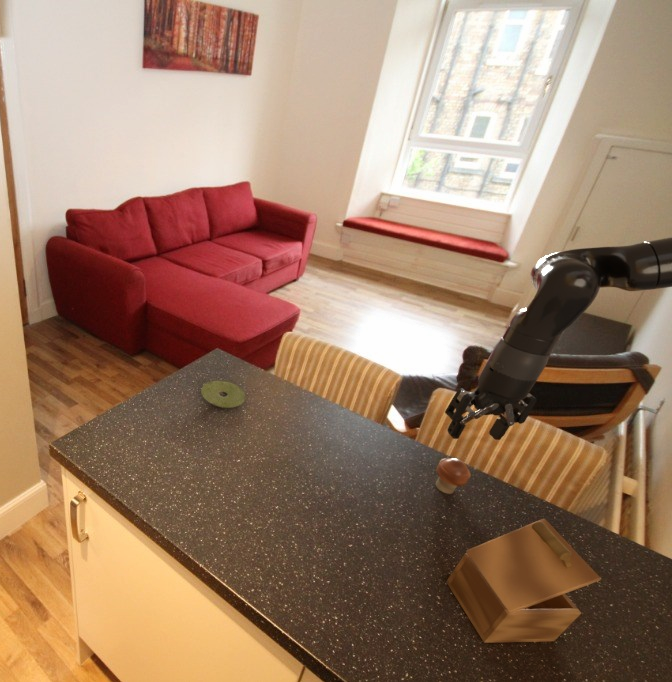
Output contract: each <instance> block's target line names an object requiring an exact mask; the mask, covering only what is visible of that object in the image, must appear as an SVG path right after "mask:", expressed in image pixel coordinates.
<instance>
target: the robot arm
mask: <svg viewBox="0 0 672 682" xmlns="http://www.w3.org/2000/svg"><path fill="white" fill-rule="evenodd" d="M530 281H531V283H532V285H533V287H534V288H535V289H536V293H535V295H534V297H533V298H532V300H531V301H530V303H529V305H528V306H527V307H525V308H521V309H519V310H518V311H516V313H514V315H513V317H512V318H511V320H510V322H509V324H507V327H506V329H505V331H504V333H503V335H502V336H501V338H500V339H499V341H498V342H497V344H496V345H495V346H494V348H493V350H492V351H491V353H490V355H489V357H488V359H487V361H486V363H485V365H484V366H483V368H482V370H481V372H480V373H479V376H478V377H477V378H478V379H477V381H478V386H477V387H476V389H474V390H473V391H467V390H465V389H464V388H458V389H457V390H456V392H455V394H454V395H453V397H452V398H451V401H450V402H449V404H448V405H447V407H446V409H445V411H444V413H445V414H446V415H447V417H449V419H450V421H451V422H450V423H449V425H448V427H447V434H448V435H449V436H450V437H451V438H452V439H453V440H459V439H460V437H461V435H462V433H463V432H464V430H465V428H466V426H467V425H466V424H467V423H470V422H471V421H472V420H478V419H480V418H481V417H483V416H490V415H492V416H498V417H497V418H496V420H495V421H494V423H493V424H492V426H491V428H490V429H489V431H488V435H490V436H491V437H492V438H493V440H496V441H501V440H502V438H503V437H504V436H505V435H506V433H507V431H508V430H509V428H510V427H513V426H514V425H515V424H516V423H518V424H520V425H521V424H524V423H525V422H526V420H527V418H528V417H529V415H530V414H531V412H532V410H533V408H534V407H535V404H536V403H537V401H538V400H537V399H538V398H536V397H535V396H534V395H532V394H531V393H530V392H531V390H532V389H533V387H534V386H535V384H536V382H537V381H538V379H539V378H540V376H541V374H542V373H543V371H544V370H545V368H546V366H547V364H548V362H549V359H550V357H551V355H552V353H553V352H554V350H555V348H556V346H557V345H558V343H559V342H560V340H561V338H562V336H563V334H564V333H565V331H567V329H569V328H570V327H571V326H572V325H573V324H575V322H576V321H577V320H579V318H580V317H581V316H582V315H583V314H584V313H585V312H586V311H587V310H588V309H589V308H590V307H591V305H592V304H593V303H594V302H595V300H596V298H597V296H598V294H599V292H600V289H603V288H616V289H619V290H623V291H627V292H645V291H652V290H658V289H659V290H660V289H666V288H672V236H671V237H665V238H660V239H654V240H653V239H652V240H648V241H643V242H638V243H634V244H628V245H619V246H618V245H617V246H615V245H614V246H598V247H597V246H595V247H583V248H573V249H567V250H561V251H558V252H554V253H551V254H549V255H545V256H544V257H542V258H540V259H539V260H538V261H537V262H536V263H535V264H534V265H533V267H532V268H531V271H530ZM472 407H474V408H475V409H476V411H474V410H473V409H472ZM519 412H520V413H519ZM466 413H468V414H466ZM464 414H466V415H465V416H463V415H464Z"/></svg>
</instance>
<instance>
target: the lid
mask: <svg viewBox="0 0 672 682" xmlns="http://www.w3.org/2000/svg"><path fill="white" fill-rule="evenodd" d="M465 552H466V553H465V554H468V555H469V557H470V558H471V560H472V561H473V562H474V564H475V565H476V567H477V568H478V570H479V571H480V572H481V574H482V575H483V577H484V578H485V579H486V581H487V582H488V584H489V585H490V586H491V588H492V589H493V591H494V592H495V593H496V595H497V596H498V598H499V599H500V601H501V602H502V603H503V605H504V606H505V608H506V609H507V610H508V612H509V613H513V612H516V611H519V610H521V609H524V608H527V607H529V606H532V605H535V604H538V603H540V602H543V601H546V600H548V599H551V598H554V597H557V596H559V595H562V594H567V593H570V592H574V591H575V590H578V589H581V588H583V587H586V586H589V585H591V584H594V583H597V582H600V581H601V580H602V579H601V577H600V576H599V574H598V573H596V572H595V570H594V569H593V568H592V567H591V566H590V565H589V564H588V563H587V562H586V561H585V560H584V559H583V557H581V556H580V554H579V553H578V552H577V551H576V550H575V549H574V548H573V547H572V546H571V545H570V544H569V543H568V541H566V540H565V538H564V537H563V536H562V535H561V534H560V533H559V532H558V531H557V530H556V529H555V528H554V527H553V526H552V525H551V524H550V522H549V521H548V520H547V519H546V518H542V519H539V520H536V521H534V522H532V523H529V524H527V525H524V526H523V527H520V528H517V529H514V530H513V531H510V532H508V533H505V534H502V535H501V536H497V537H496V538H493V539H491V540H488V541H486V542H484V543H482V544H481V543H480V544H479V545H476V546H474V547H472V548H469V549H467V550H465Z"/></svg>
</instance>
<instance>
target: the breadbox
mask: <svg viewBox="0 0 672 682" xmlns="http://www.w3.org/2000/svg"><path fill="white" fill-rule="evenodd" d="M445 583H446V584H447V587H448V588H449V589H450V591H451V592H452V594H453V596H454V597H455V599H456V601H457V602H458V604H459V605H460V607H461V609H462V610H463V611H464V613H465V615H466V616H467V618H468V620H469V621H470V623H471V624H472V626H473V628H474V629H475V631H476V632H477V634H478V635H479V637H480V639H481V640H482V643H485V644H487V643H489V644H491V643H493V644H494V643H495V644H496V643H533V642H535V643H539V642H555V641H556V640H557V639H558V638H559V637H560V636H561V635H562V634H563V633H564V632H565V631H566V630H567V629H568V627H570V626H571V624H573V622H574V621H576V619H578V617H579V616H581V614H582V612H581V611H580V609H578V607H577V605H576V604H575V603H574V602H573V601H572V600H571V599H570V598H569V596H568V595H567V593H565V594H562V595H559V596H557V597H554V598H551V599H548V600H546V601H543V602H540V603H538V604H535V605H532V606H529V607H527V608H524V609H521V610H519V611H516V612H513V613H509V612H508V610H507V609H506V608H505V606H504V605H503V603H502V602H501V601H500V599H499V598H498V596H497V595H496V593H495V592H494V591H493V589H492V588H491V586H490V585H489V584H488V582H487V581H486V579H485V578H484V577H483V575H482V574H481V572H480V571H479V570H478V568H477V567H476V565H475V564H474V562H473V561H472V560H471V558H470V557H469V555H468V554H467V553H464V554H463V556H462V558H461V559H460V561H459V562H458V563H457V564H456V567H455V568H454V570H453V571H452V572H451V574H450V575H449V576H448V578H447V580H446V581H445Z"/></svg>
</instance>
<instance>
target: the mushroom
mask: <svg viewBox="0 0 672 682" xmlns="http://www.w3.org/2000/svg"><path fill="white" fill-rule="evenodd" d="M435 471H436V474H437V476H438V478H437V479H436V482H435V487H436V488H437V490H438V491H440V492H442V493H444V494H447V495H452V494H453V493H454V492H455V490H456V488H457V487H463V486H466V485H467V483H468V481H469V480H470V478H471V476H472V473H471V471H470V470H469V468H468V466H467V464H466V463H465V462H464V461H462V460H460V459H459V458H454V457H451V458H442V459H440V461H439V462H438V465H437V466H436V469H435Z"/></svg>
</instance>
